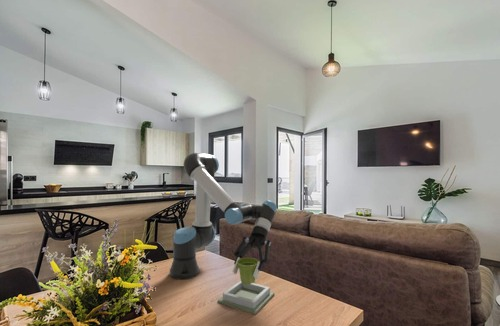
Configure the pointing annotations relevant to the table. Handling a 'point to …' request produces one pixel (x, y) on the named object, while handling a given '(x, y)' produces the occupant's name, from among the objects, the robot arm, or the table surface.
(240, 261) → the plant pot
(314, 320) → the table surface
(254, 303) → the grey green square tray
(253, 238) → the robot arm
